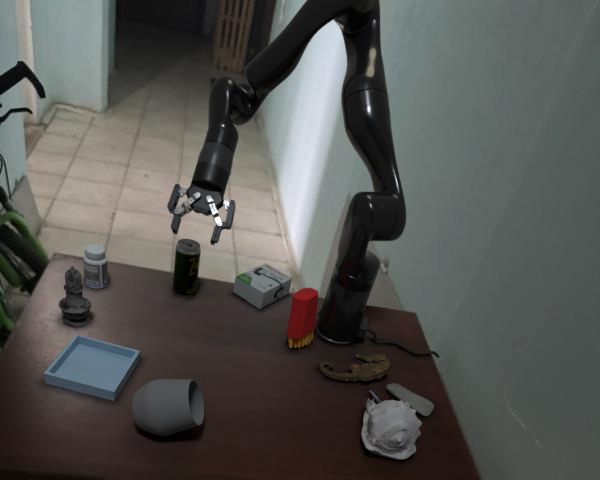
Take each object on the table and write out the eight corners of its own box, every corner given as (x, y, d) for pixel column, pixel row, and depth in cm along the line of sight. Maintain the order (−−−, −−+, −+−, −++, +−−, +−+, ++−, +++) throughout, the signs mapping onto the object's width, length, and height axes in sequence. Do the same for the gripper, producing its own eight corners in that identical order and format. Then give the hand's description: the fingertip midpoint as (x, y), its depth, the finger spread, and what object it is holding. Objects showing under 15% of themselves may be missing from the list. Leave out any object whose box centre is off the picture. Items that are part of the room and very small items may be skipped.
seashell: (377, 406, 106) (394, 368, 99) (423, 453, 98) (444, 415, 92) (331, 421, 99) (345, 381, 93) (376, 472, 92) (395, 433, 85)
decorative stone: (390, 383, 112) (381, 394, 108) (392, 378, 111) (383, 389, 108) (434, 408, 109) (426, 420, 106) (436, 404, 108) (428, 415, 105)
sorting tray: (140, 360, 99) (140, 350, 98) (114, 401, 90) (114, 391, 88) (77, 343, 98) (76, 333, 97) (44, 383, 89) (43, 373, 88)
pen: (415, 437, 100) (371, 389, 107) (413, 437, 100) (369, 389, 107) (412, 440, 101) (368, 392, 108) (410, 440, 100) (367, 392, 107)
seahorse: (341, 384, 103) (340, 396, 105) (401, 362, 111) (399, 374, 113) (315, 363, 109) (314, 376, 111) (373, 344, 117) (372, 356, 119)
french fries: (287, 296, 106) (281, 346, 113) (303, 303, 104) (296, 353, 112) (310, 284, 112) (303, 332, 119) (325, 290, 110) (317, 338, 117)
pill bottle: (100, 275, 116) (99, 241, 111) (111, 286, 114) (111, 251, 109) (80, 280, 113) (78, 245, 108) (91, 291, 111) (90, 256, 106)
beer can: (167, 292, 118) (171, 244, 110) (180, 283, 122) (184, 235, 114) (188, 301, 117) (193, 253, 109) (200, 291, 121) (205, 244, 113)
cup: (154, 411, 92) (208, 404, 91) (143, 450, 85) (201, 443, 84) (133, 371, 86) (191, 362, 85) (119, 409, 79) (181, 400, 78)
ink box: (235, 275, 120) (265, 261, 129) (232, 293, 123) (261, 279, 132) (264, 292, 118) (293, 277, 126) (260, 310, 121) (289, 294, 129)
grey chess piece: (96, 315, 106) (94, 262, 98) (84, 331, 101) (81, 277, 94) (67, 308, 105) (63, 254, 98) (54, 323, 101) (48, 269, 93)
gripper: (179, 151, 111) (158, 222, 110) (243, 170, 112) (223, 241, 111) (184, 169, 119) (165, 235, 118) (244, 186, 119) (226, 253, 118)
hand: (193, 238), depth 114 cm, fingers open, 8 cm apart
